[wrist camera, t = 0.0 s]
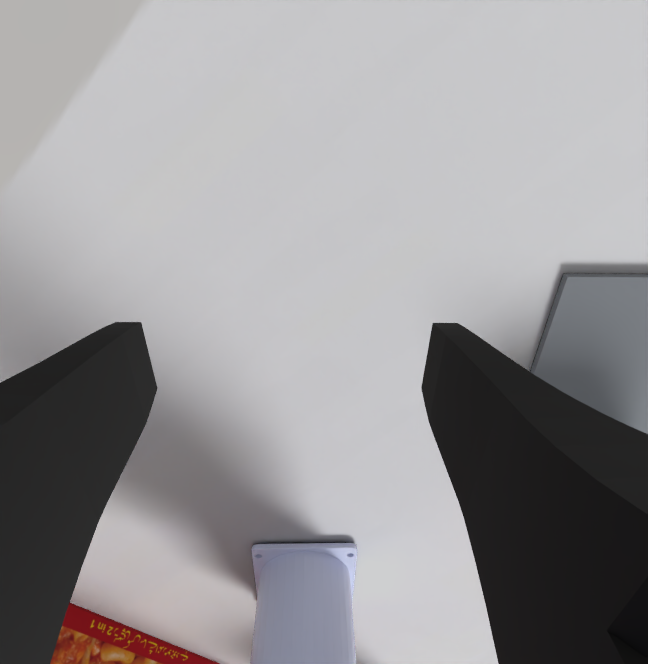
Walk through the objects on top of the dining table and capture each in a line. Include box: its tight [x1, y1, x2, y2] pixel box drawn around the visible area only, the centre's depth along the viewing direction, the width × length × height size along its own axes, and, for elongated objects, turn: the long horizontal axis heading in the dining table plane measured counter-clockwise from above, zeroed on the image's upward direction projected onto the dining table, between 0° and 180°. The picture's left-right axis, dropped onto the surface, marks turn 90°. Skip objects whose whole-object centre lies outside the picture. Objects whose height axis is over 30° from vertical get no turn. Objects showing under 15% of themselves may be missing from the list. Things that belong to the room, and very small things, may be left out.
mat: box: [530, 274, 648, 434], centre depth 25 cm, size 18×10×1 cm, turn 179°
